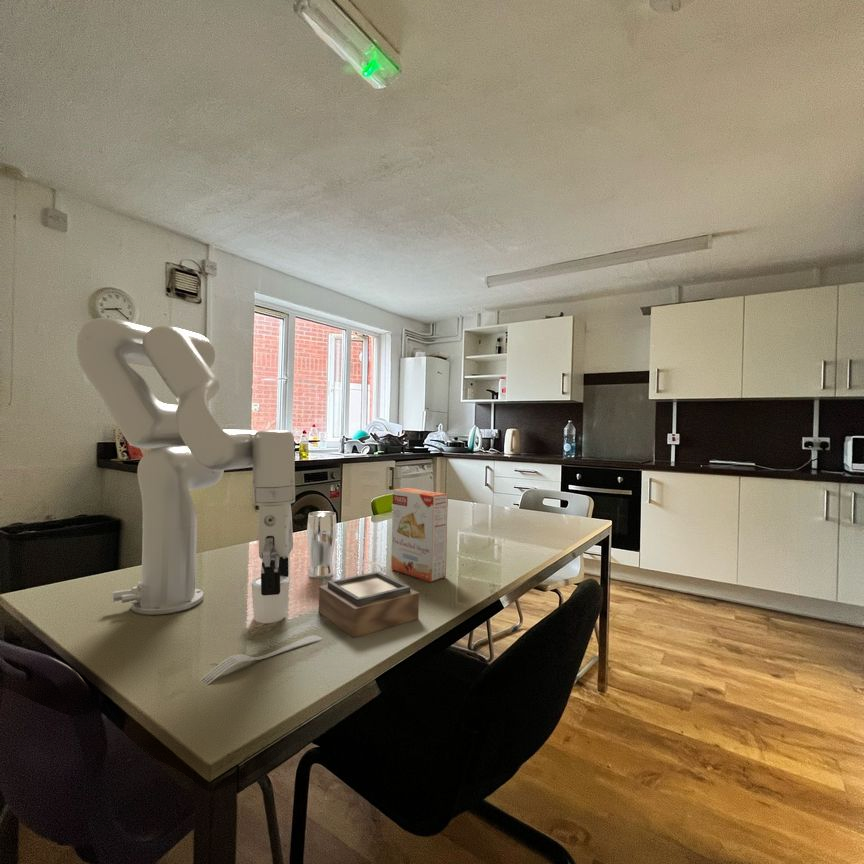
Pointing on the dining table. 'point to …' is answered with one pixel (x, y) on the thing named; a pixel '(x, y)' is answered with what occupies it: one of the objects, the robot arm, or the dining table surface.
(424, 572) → the cracker box
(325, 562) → the beer glass
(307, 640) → the fork
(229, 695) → the dining table surface
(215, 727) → the dining table surface
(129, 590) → the robot arm
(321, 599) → the display plinth
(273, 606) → the white cylinder
